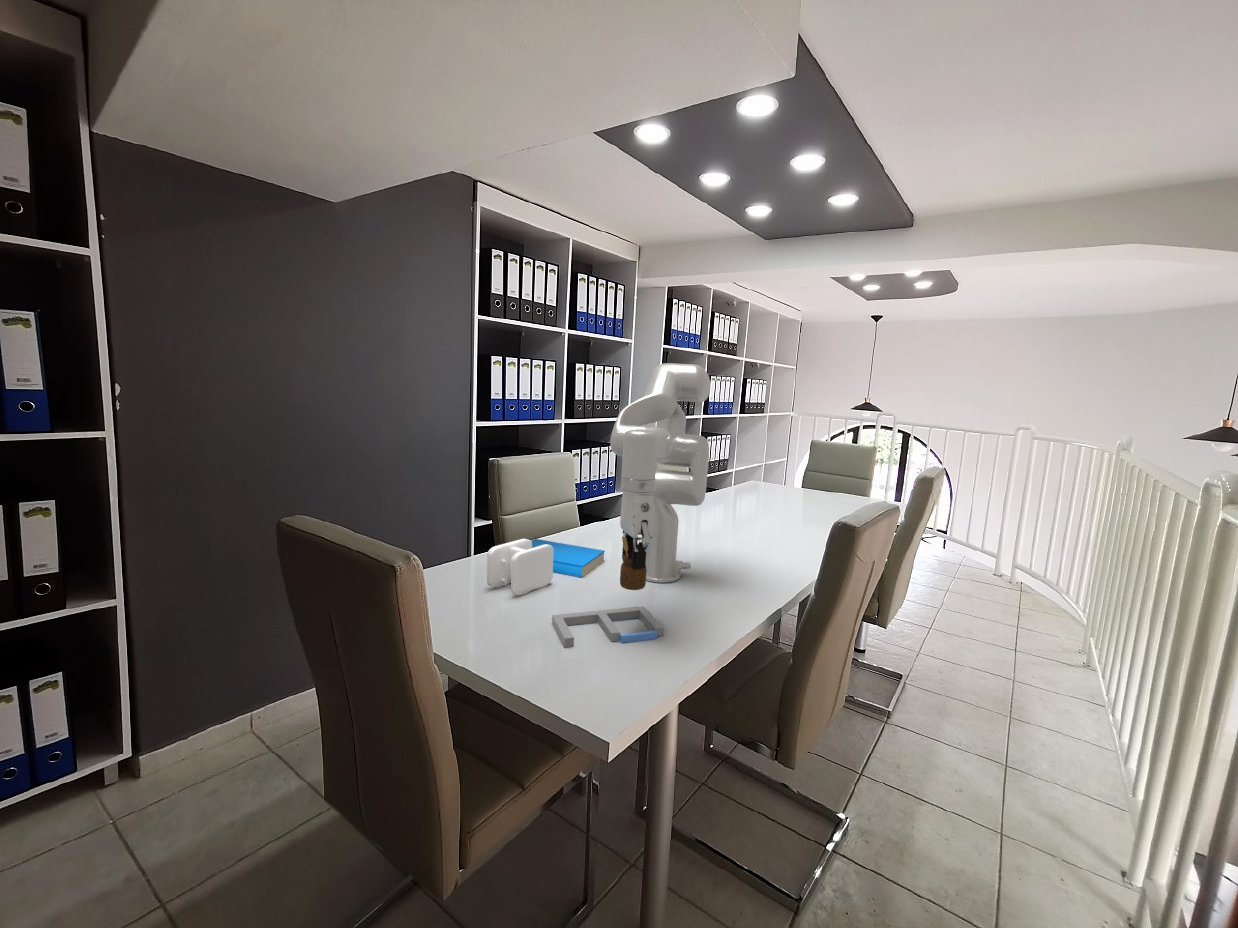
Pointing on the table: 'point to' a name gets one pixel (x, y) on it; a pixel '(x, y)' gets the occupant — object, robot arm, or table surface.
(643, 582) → the utensil holder
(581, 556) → the book
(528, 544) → the cable organizer
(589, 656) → the table surface
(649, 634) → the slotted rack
